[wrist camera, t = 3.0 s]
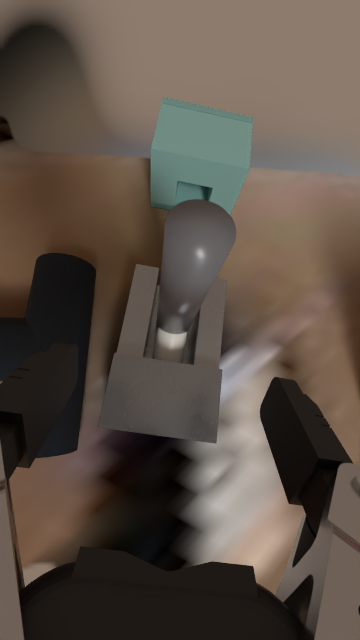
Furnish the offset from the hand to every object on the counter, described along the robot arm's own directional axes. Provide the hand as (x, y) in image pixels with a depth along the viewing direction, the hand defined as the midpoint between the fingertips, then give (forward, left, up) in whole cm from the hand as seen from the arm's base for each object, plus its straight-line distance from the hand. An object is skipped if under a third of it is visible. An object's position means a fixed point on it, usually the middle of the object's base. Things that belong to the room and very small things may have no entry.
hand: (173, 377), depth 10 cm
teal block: (0, +23, -13) cm, 26 cm away
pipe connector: (-12, +1, -14) cm, 19 cm away
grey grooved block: (0, +3, -13) cm, 14 cm away
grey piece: (0, +8, -12) cm, 14 cm away
